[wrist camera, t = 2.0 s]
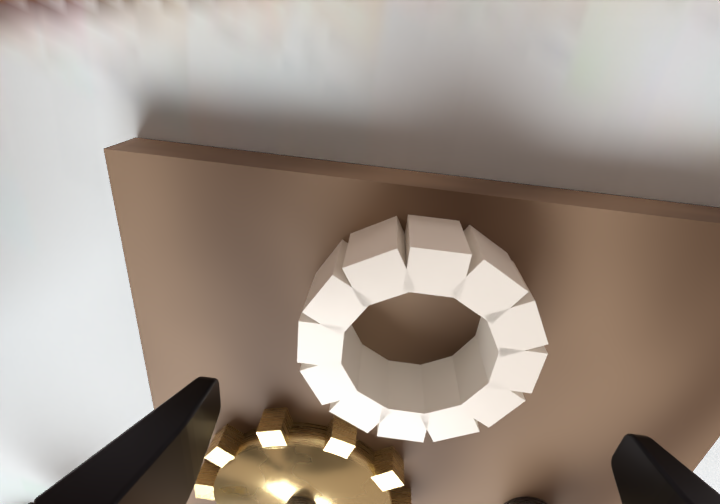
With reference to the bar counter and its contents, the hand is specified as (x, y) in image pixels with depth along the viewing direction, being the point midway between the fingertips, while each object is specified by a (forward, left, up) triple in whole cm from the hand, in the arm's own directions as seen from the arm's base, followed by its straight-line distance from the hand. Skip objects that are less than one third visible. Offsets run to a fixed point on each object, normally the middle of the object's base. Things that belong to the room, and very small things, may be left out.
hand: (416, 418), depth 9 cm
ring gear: (0, 0, -4) cm, 4 cm away
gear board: (+1, -5, -5) cm, 7 cm away
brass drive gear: (-3, -9, -4) cm, 10 cm away
